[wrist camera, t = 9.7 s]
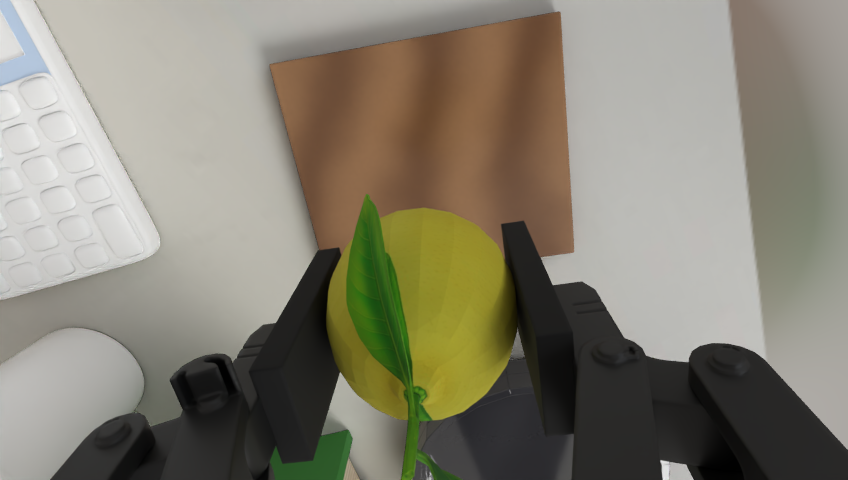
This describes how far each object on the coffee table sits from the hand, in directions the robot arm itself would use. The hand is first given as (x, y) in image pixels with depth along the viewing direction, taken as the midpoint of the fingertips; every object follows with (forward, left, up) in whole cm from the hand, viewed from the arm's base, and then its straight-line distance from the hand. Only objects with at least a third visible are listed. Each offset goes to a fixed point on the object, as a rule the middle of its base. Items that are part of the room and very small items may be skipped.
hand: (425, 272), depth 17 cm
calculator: (+26, -6, -15) cm, 31 cm away
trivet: (0, 0, -15) cm, 15 cm away
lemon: (0, 0, -2) cm, 2 cm away
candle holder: (+28, +12, -15) cm, 34 cm away
